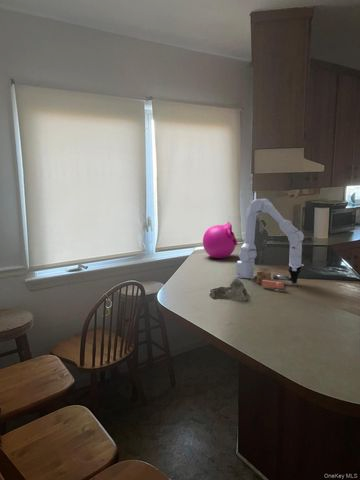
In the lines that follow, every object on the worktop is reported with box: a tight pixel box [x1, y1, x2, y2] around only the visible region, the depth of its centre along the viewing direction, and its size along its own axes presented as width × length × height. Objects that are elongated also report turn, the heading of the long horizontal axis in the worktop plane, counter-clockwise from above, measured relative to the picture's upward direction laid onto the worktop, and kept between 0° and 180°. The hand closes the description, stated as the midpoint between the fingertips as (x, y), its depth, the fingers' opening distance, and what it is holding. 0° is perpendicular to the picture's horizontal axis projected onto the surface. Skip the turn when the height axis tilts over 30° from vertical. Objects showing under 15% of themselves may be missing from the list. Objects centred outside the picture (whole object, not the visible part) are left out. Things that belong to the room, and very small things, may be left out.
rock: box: [209, 277, 251, 302], centre depth 158 cm, size 18×11×10 cm, turn 75°
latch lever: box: [261, 280, 285, 290], centre depth 169 cm, size 4×10×3 cm, turn 56°
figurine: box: [202, 221, 238, 259], centre depth 243 cm, size 23×24×25 cm
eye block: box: [256, 267, 272, 285], centre depth 181 cm, size 6×8×6 cm
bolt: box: [272, 274, 298, 286], centre depth 177 cm, size 11×4×6 cm, turn 69°
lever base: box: [273, 288, 286, 293], centre depth 167 cm, size 5×5×1 cm
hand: (294, 281), depth 176 cm, fingers closed on bolt, 4 cm apart
